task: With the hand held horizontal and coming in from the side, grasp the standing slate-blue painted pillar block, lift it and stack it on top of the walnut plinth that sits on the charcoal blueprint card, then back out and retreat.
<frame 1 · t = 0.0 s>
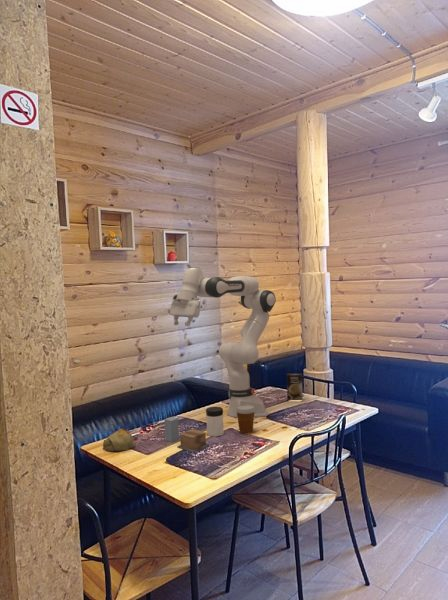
hand: (181, 325, 215), 52 cm above the table, tool tilted 20°, fingers open, 8 cm apart
olive brown rounded lump: (119, 447, 199), on the table
pillar: (172, 440, 205), on the table
coffee box: (295, 401, 264), on the table
disposable coffee cup: (246, 431, 213), on the table
plinth: (193, 446, 196), on the table
jar: (215, 434, 212), on the table
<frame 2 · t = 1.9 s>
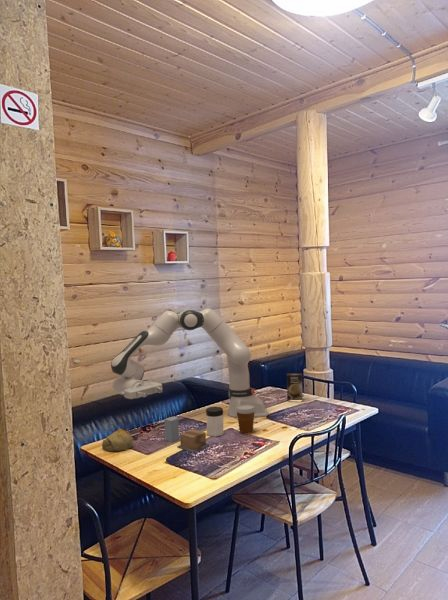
hand: (153, 393, 213), 20 cm above the table, tool horizontal, fingers open, 8 cm apart
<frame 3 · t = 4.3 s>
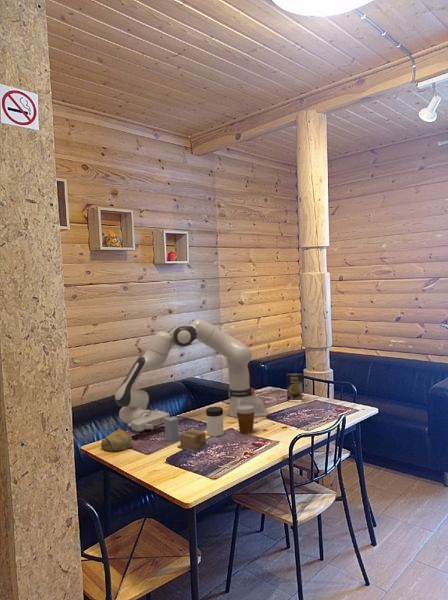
hand: (161, 424, 210), 6 cm above the table, tool horizontal, fingers open, 8 cm apart
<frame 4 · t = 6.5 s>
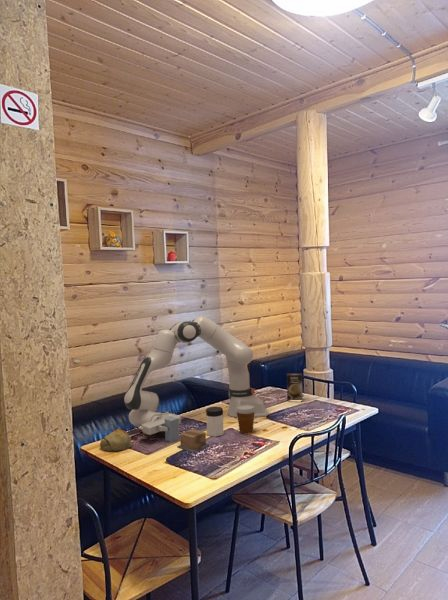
hand: (173, 427, 205), 6 cm above the table, tool horizontal, fingers closed on pillar, 4 cm apart
pillar: (172, 439, 205), on the table, touching gripper
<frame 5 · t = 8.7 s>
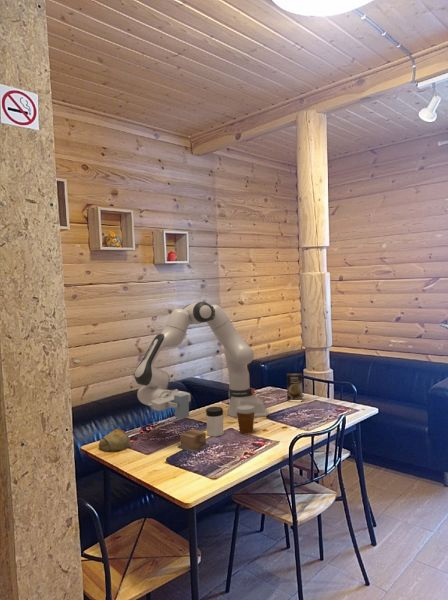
hand: (182, 403, 199), 18 cm above the table, tool horizontal, fingers closed on pillar, 4 cm apart
pillar: (182, 416, 200), point 12 cm above the table, touching gripper
when the fingers open (13 cm above the table, at t = 10.9 s): pillar drops 1 cm, resting on plinth.
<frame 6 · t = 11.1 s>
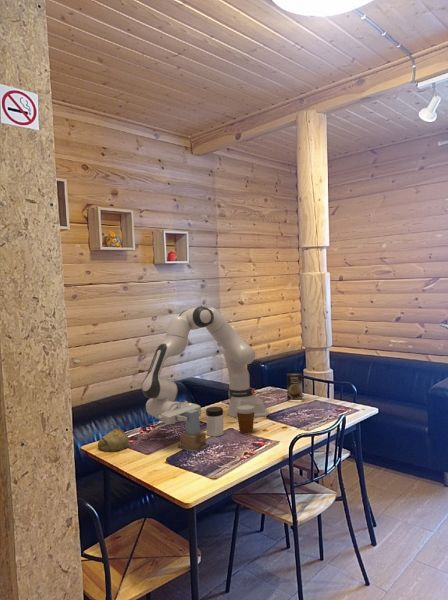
hand: (193, 416, 195), 13 cm above the table, tool horizontal, fingers open, 6 cm apart
pillar: (192, 433, 196), point 6 cm above the table, touching plinth
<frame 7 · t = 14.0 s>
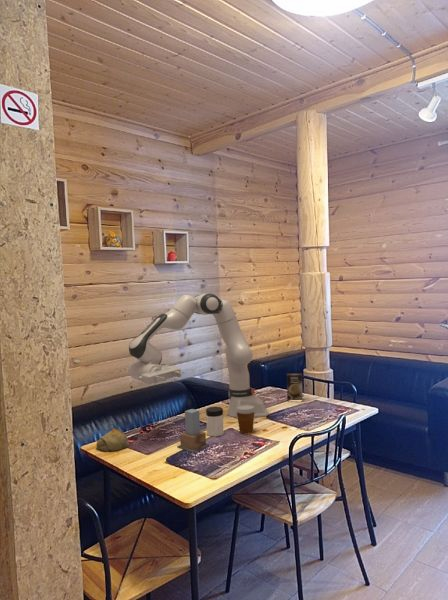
hand: (172, 377, 203), 30 cm above the table, tool horizontal, fingers open, 8 cm apart
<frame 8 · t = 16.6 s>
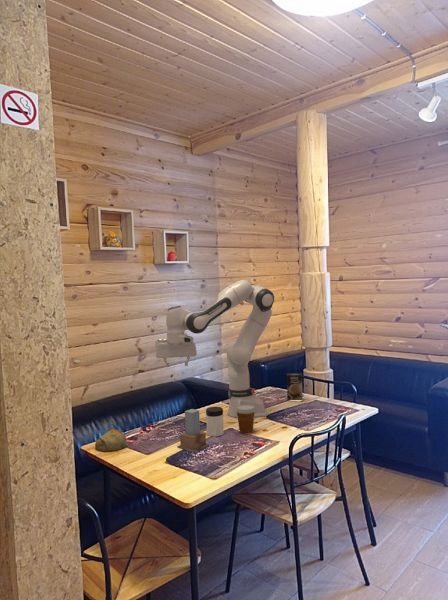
hand: (177, 366, 222), 31 cm above the table, tool pointing down, fingers open, 8 cm apart
at the end: pillar 0.1 cm off-centre on the plinth, point 6.0 cm above the plinth's base; pillar tilted 0°; the gripper is holding nothing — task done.
